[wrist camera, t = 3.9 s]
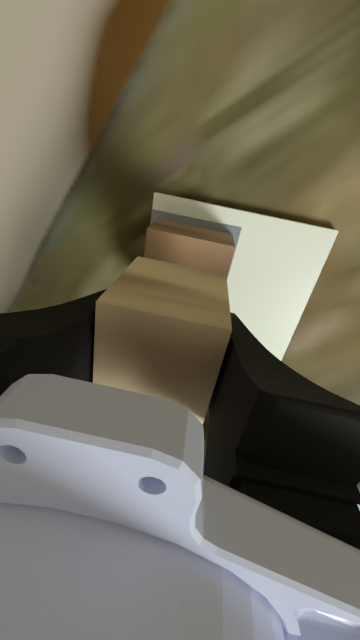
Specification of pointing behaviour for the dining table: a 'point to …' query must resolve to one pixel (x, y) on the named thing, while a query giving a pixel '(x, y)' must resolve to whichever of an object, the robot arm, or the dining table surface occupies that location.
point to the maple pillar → (163, 332)
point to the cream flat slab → (260, 263)
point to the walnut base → (189, 246)
